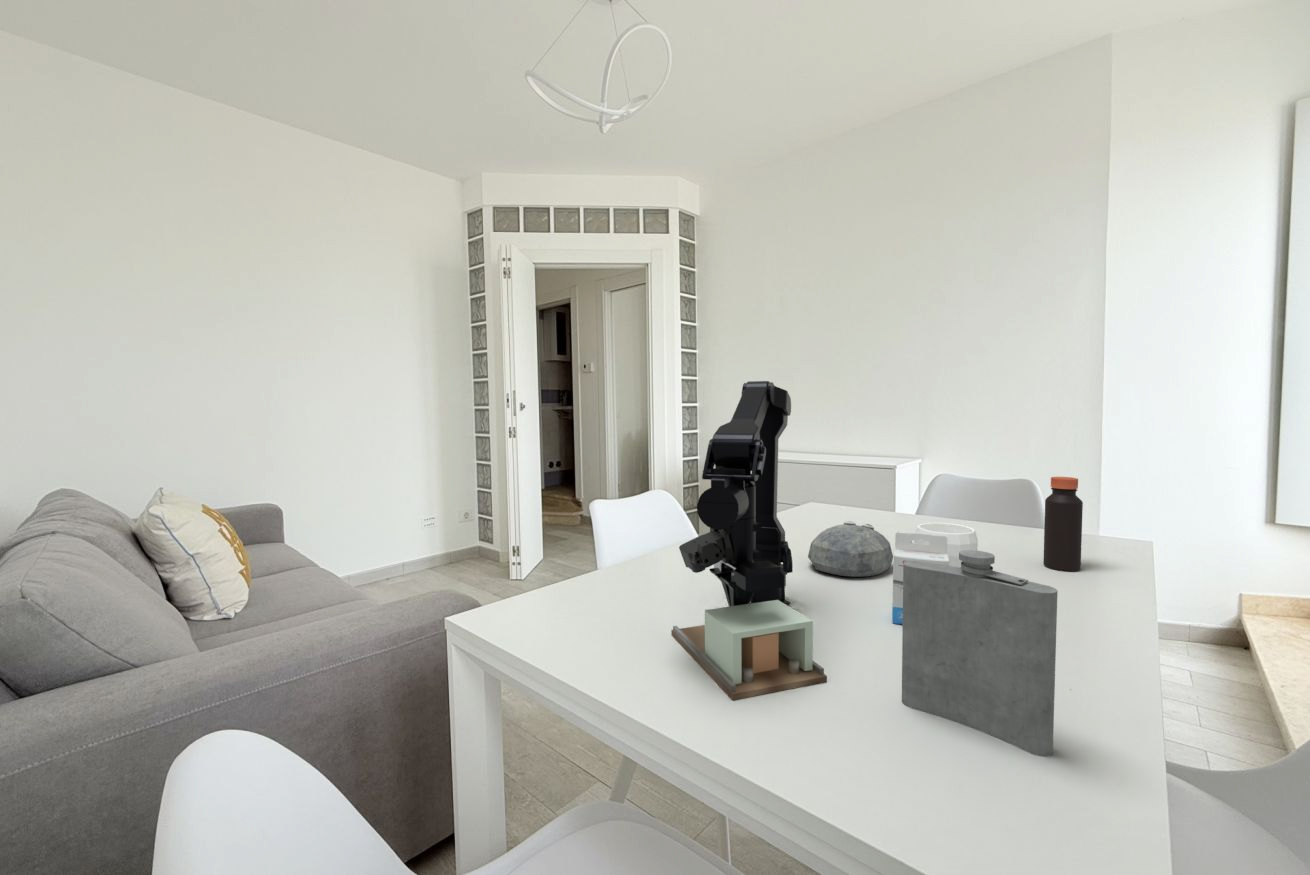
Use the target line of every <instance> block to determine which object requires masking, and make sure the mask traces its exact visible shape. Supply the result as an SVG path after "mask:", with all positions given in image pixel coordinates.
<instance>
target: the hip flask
mask: <svg viewBox="0 0 1310 875" xmlns="http://www.w3.org/2000/svg"><path fill="white" fill-rule="evenodd" d="M995 558H996V557H995V555H994V554H993V553H990V552H987V551H983V550H977V551H975V550H964V551H960V552H959V560H961V561H963V562H961V568H960V567H954V566H947V565H941V564H935V563H928V562H920V561H906V562H904V563H903V625H902V638H901V639H902V642H901V643H902V644H901V645H902V646H901V649H902V651H901V652H902V653H901V654H902V655H901V703H902V704H903V705H904V706H906V707H908V708H910V709H913V710H916V711H917V710H918V711H920V712H924V713H927V714H930V715H934V716H937V717H941V718H943V719H947V720H948V721H949V720H950V721H951V722H954V723H958V724H960V725H963V726H966V727H969V728H971V729H974V730H976V731H979V732H982V733H983V734H987V735H990V736H991V737H993V738H996V739H999V740H1001V741H1003V742H1006V743H1008V744H1011V745H1012V746H1015V747H1016V748H1018V749H1021V750H1023V751H1024V752H1027V753H1029V754H1031V755H1035V756H1039V757H1048V756H1051V755H1052V754H1053V752H1054V725H1055V724H1054V721H1055V695H1056V694H1055V689H1056V688H1055V687H1056V683H1055V682H1056V655H1057V654H1056V653H1057V626H1058V625H1057V622H1058V620H1057V619H1058V589H1057V588H1055V587H1053V586H1050V585H1046V584H1041V583H1038V582H1034V581H1029V580H1028V579H1025V578H1022V577H1018V576H1015V575H1011V574H1006V573H1003V572H999V571H997V570H994V567H993V566H992V565H993V564H995V562H996V561H995Z"/></svg>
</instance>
